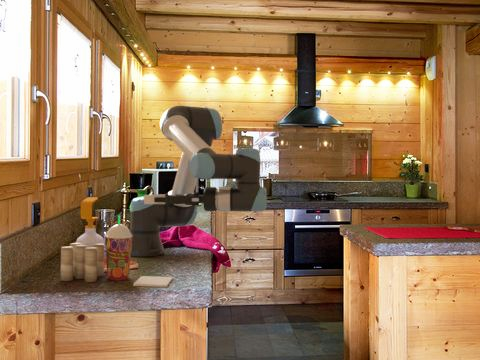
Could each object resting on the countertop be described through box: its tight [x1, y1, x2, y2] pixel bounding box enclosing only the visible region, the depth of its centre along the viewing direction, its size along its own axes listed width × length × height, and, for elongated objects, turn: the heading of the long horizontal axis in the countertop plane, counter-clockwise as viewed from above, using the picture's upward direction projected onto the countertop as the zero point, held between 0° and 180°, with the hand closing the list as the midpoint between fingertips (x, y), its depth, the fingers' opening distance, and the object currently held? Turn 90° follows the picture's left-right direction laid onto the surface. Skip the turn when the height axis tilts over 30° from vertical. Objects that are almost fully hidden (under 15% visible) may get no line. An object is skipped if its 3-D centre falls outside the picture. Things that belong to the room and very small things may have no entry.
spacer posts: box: [60, 242, 106, 283], centre depth 149 cm, size 11×11×10 cm
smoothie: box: [104, 214, 132, 282], centre depth 148 cm, size 8×8×20 cm
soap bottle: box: [75, 196, 105, 248], centre depth 160 cm, size 9×9×25 cm
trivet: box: [133, 275, 174, 288], centre depth 145 cm, size 10×10×1 cm
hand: (149, 198), depth 148 cm, fingers open, 13 cm apart
